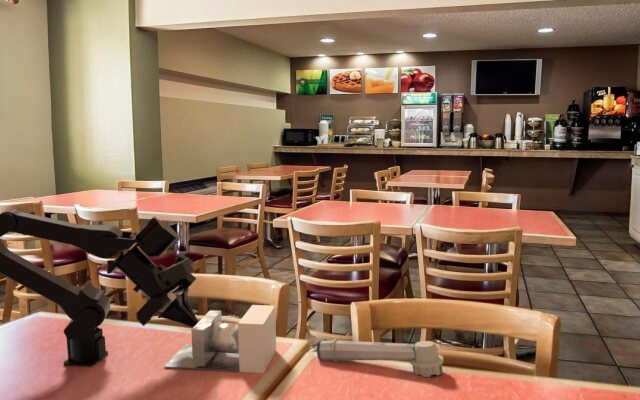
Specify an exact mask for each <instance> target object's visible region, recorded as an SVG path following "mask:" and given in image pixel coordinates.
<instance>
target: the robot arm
mask: <svg viewBox="0 0 640 400" xmlns="http://www.w3.org/2000/svg"><path fill="white" fill-rule="evenodd" d="M8 233H14V234H20V235H24V236H29V237H34V238H39V239H44V240H48V241H53V242H56V243H58V242H59V243H61V244H67V245H72V246H73V247H76V248H78V249H80V250H81V251H83V252H85V253H88V254H90V255H92V256H95V257H97V258H99V259H100V258H101V259H107V261H106V262H107V268H106V269H107V270H106V273H107V274H114V273H116V272H117V271H118V270H119V272H121V273H122V274H123V275H124V276H125V277H126V278H127V279H128V280H129V281H130V282H131V283H132V284H133V285H134V287H133V288H132V290H133V291H134V292H135V293H138V292H139V291H140V292H141V293H143V294H144V296H145V297H147V299H148V300H147V301H146V302H145V303H144V304H143V305H142V307H140V309H139V310H138V311H137V312H136V313H135V314H136V320H137V322H138V323H139V324H141V326H143V327H145V325H147V324H148V323H149V322H150V321H151V320H152V318H153V317H154V316H155V315H156V314H157V313H158V312H159V311H160V313H159V315H158V316H157V318H159V319H165V320H169V321H173V322H176V323H178V324H182V325H184V326H185V325H186V326H187V327H192V328H193V327H194V326H195V325H196V324H197V323H198V322H199V320H198V317H197V316H196V313H194V310H193V308H192V306H191V304H190V302H189V300H188V298H189V297H188V294H189V291H190V290H189V288H190V286H192V284H194V283H195V281H196V280H197V278H196V277H195V276H194V275H193V274H192V273H195V269H194V267H193V264H194V260H192V259H190V257H188V256H186V255H185V254H182V255H180V256H178V257H176V258H175V259H174V264H172V265H171V266H169V267H166V266H165V265H164V264H161V263H160V264H159V265H156V264H155V263H154V261H152V260H151V258H155V257H156V258H160V257H161V256H162V255H163V254H164V253H165V252H167V250H168V249H169V248H170V247H171V246H172V245H173V244H175V242H176V241H177V240H178V239H179V238H180V237H179V234H177V232H176V231H175V230H174V229H173V228H172V227H171V226H170V225H169V224H167V223H165V222H164V221H162V220H160V219H158V218H157V217H156V216H152V217H151V218H150V219H149V221H148V222H147V224H146V225H145V226H144V227H143V228H141V230H139V232H137V231H136V232H135V231H127V230H125V231H124V230H122V229H121V228H119V227H118V226H116V225H110V224H78V223H74V222H69V221H65V220H60V219H55V218H50V217H46V216H42V215H38V214H32V213H28V212H24V211H21V210H19V209H17V208H16V209H15V208H14V209H13V208H12V209H9V210H6V211H3V212H1V213H0V238H1V237H3V236H5V235H6V234H8ZM135 243H136V244H135ZM133 245H134V246H133ZM121 251H122V252H121ZM119 252H121V253H120V254H119V255H118V253H119ZM116 255H118V256H117V257H116V258H114V259H111V258H113V257H115V256H116ZM149 257H150V258H149ZM109 259H110V260H109ZM0 274H1V275H2V276H5V277H6V278H9V279H10V280H12V281H14V282H16V284H19V285H21V286H23V287H24V288H26V289H28V290H30V291H32V292H34V293H36V294H38V295H40V296H41V297H43V298H45V299H46V300H49V301H50V302H52V303H55V304H56V305H57V306H59V307H60V308H61V310H62V311H63V312H64V313H65V315H66V316H67V317H68V318H69V319H70V321H69V322H68V323H67V325H66V326H65V327H64V329H63V333H64V335H65V337H66V349H67V350H66V351H67V359H65V361H63V362H62V363H63V365H64V366H79V367H93V366H95V365H96V364H97V363H98V362H100V361H101V360H102V359H104V358H105V357H106V356H107V355H108V354H109V351H108V350H106V349H107V347H106V337H105V335H103V328H102V327H101V328H100V326H101V325H102V324H103V322H104V321H105V319H106V317H107V315H108V314H109V311H110V310H111V301H110V298H109V297H108V296H107V295H106V294H104V293H105V290H104V289H99V288H97V287H95V286H94V285H93V284H91V283H90V282H88V281H87V282H85V284H84V285H83V286H78V285H77V286H76V285H73V284H71V283H69V282H67V281H66V280H64V279H63V278H59V277H58V276H56V275H55V274H53V273H51V272H49V271H47V270H46V269H44V268H42V267H41V266H38V265H36V264H35V263H34V262H31V261H29V260H27V259H26V258H23V257H22V256H20V254H19V255H18V254H17V253H15V252H13V251H11V250H10V249H9V248H8V247H7V246H6V245H5V243H4V242H3V241H2V240H1V239H0Z"/></svg>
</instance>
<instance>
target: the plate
mask: <svg viewBox="0 0 640 400" xmlns="http://www.w3.org/2000/svg"><path fill="white" fill-rule="evenodd" d="M163 367H164V369H170V370H171V369H175V370H188V371H189V370H190V371H191V370H192V371H206V372H207V371H212V372H214V371H215V372H230V373H241V372H240V370H239V353H218V352H216V353H215V354H214V355H213V357H212V358H211V359H210V360H209V362H208V363H207V364H206V365H205V366H193V356H192V343H191V344H190V343H185V344H184V345H183V346H182V347H181V348H180V349H179V350H178V352H176V354H174V356H173V357H171V359H170V360H169V361H168V362H167V363H166V364H165V365H164V366H163Z"/></svg>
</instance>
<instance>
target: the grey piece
mask: <svg viewBox="0 0 640 400" xmlns="http://www.w3.org/2000/svg"><path fill="white" fill-rule="evenodd" d="M222 317H223V316H222V310H209V311H208V312H207V313H206V314H205V315H204V316H203V317H201V319H200V320H198V323H197V324H196V325H195V326H194V327H192V328H191V329H190V331H191V344H192V356H193V366H205V365H206V364H207V363H208V362H209V360H210V359H211V358H212V357H213V355H214V354H215V353H216V352H218V353H239V339H238V323H239V322H238V323H236V322H234V323H233V322H222Z"/></svg>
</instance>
